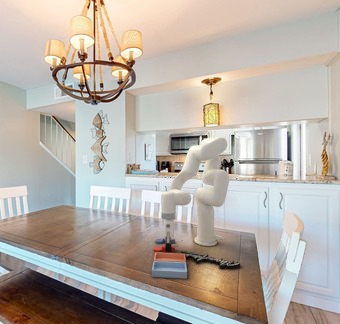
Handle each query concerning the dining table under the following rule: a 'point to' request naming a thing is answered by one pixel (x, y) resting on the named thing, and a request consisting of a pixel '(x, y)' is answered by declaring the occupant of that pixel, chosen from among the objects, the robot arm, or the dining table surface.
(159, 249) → the red spoon
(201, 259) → the nameplate
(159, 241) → the blue spoon
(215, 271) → the dining table surface
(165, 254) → the red bin
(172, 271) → the blue bin
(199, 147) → the robot arm
